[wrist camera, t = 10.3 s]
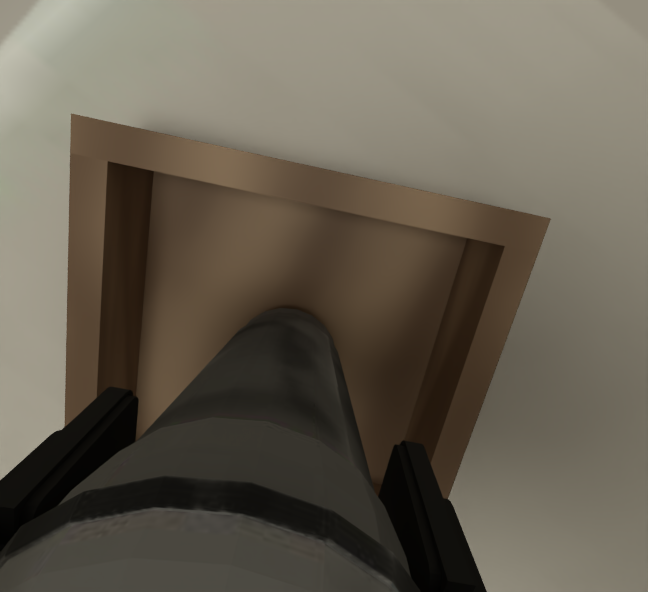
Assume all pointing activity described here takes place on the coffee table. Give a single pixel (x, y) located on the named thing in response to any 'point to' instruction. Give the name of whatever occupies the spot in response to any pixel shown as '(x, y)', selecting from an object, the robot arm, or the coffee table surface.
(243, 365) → the beverage cup
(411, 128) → the coffee table surface
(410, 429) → the walnut tray
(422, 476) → the robot arm
